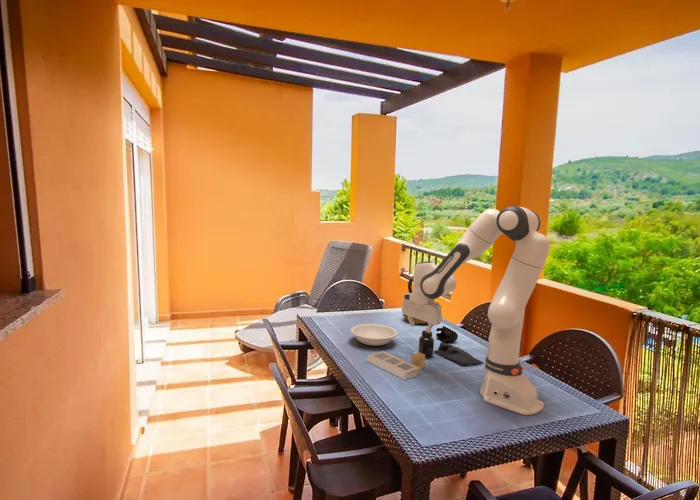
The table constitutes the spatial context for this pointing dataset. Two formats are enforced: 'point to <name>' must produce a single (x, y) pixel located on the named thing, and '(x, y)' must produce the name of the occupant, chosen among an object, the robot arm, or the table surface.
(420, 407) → the table surface
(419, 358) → the golden yellow block
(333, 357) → the table surface
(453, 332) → the end cap
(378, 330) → the soup bowl
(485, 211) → the robot arm
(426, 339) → the supplement bottle
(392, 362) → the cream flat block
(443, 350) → the dark slate chunk
